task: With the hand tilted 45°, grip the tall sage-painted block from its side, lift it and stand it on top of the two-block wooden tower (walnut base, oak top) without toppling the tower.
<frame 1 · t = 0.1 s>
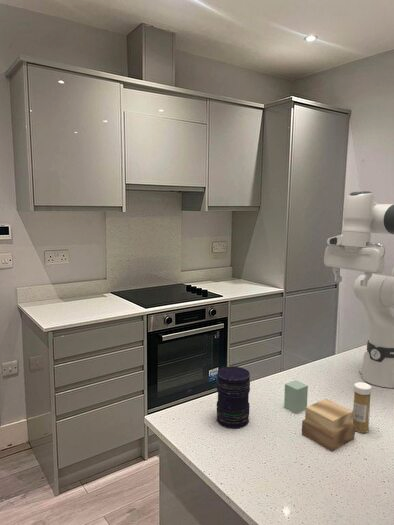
hand: (350, 283, 132), 39 cm above the counter, tool pointing down, fingers open, 8 cm apart
storage jar: (232, 420, 122), on the counter
walnut block: (327, 437, 113), on the counter
oak block: (328, 422, 113), point 4 cm above the counter
sage block: (295, 408, 129), on the counter
sprinkles bottle: (360, 429, 117), on the counter
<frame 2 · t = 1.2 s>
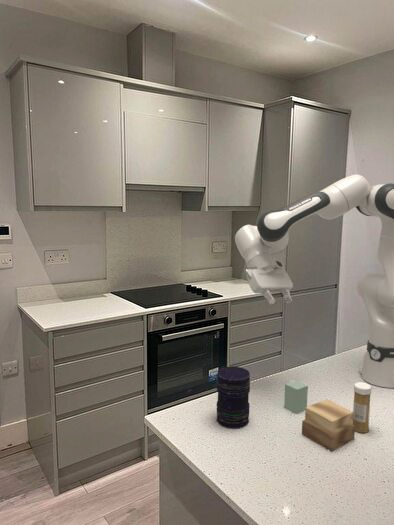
hand: (281, 302, 132), 33 cm above the counter, tool tilted 40°, fingers open, 8 cm apart
walnut block: (327, 438, 113), on the counter, touching oak block
oak block: (328, 423, 113), point 4 cm above the counter, touching walnut block
everything else where it was.
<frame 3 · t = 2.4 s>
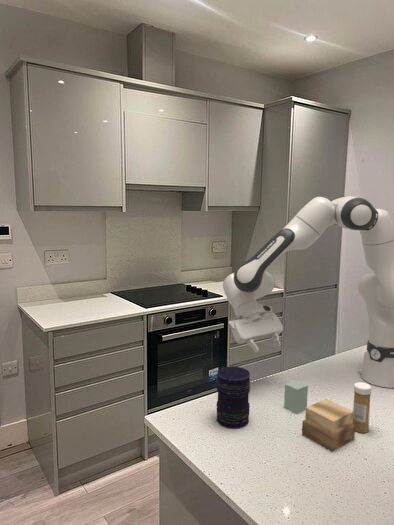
hand: (268, 349, 137), 16 cm above the counter, tool tilted 45°, fingers open, 8 cm apart
nothing on the counter moved.
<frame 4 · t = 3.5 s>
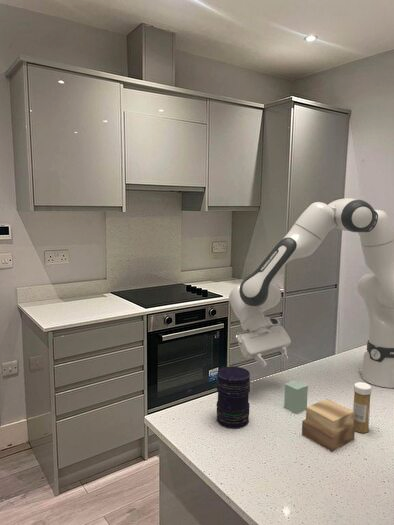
hand: (276, 363, 135), 12 cm above the counter, tool tilted 45°, fingers open, 8 cm apart
nothing on the counter moved.
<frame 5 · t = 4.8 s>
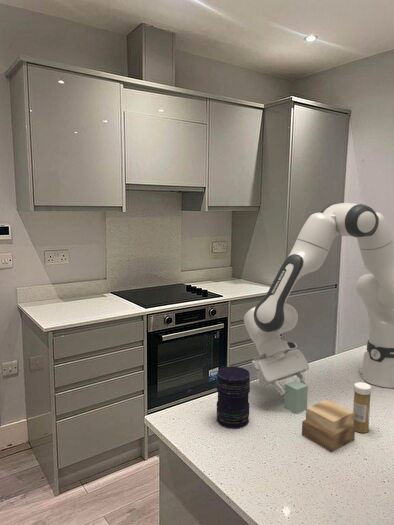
hand: (294, 390, 129), 6 cm above the counter, tool tilted 45°, fingers open, 8 cm apart
nothing on the counter moved.
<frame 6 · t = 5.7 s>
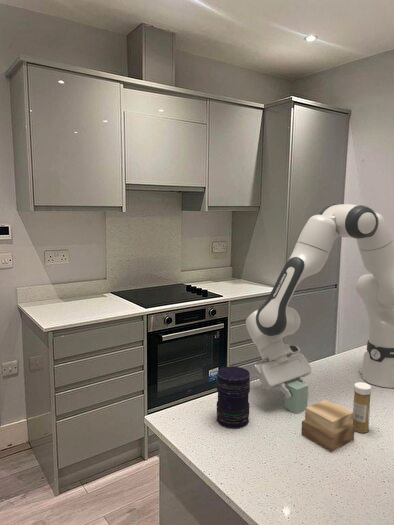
hand: (297, 394, 128), 5 cm above the counter, tool tilted 45°, fingers closed on sage block, 5 cm apart
sage block: (295, 408, 129), on the counter, touching gripper
everything else where it was.
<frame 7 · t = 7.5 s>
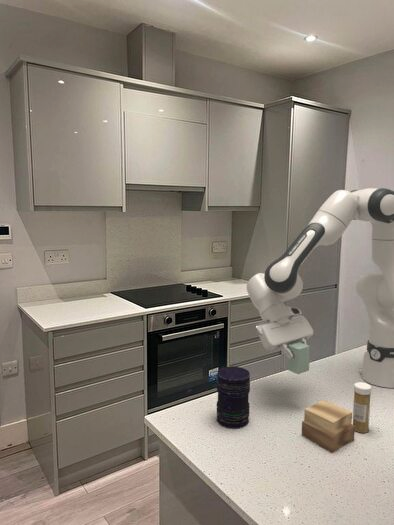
hand: (299, 355, 126), 18 cm above the counter, tool tilted 45°, fingers closed on sage block, 5 cm apart
sage block: (297, 369, 127), point 13 cm above the counter, touching gripper
everything else where it was.
when the fingers open (14 cm above the counter, at t = 11.2 s): sage block drops 1 cm, resting on oak block.
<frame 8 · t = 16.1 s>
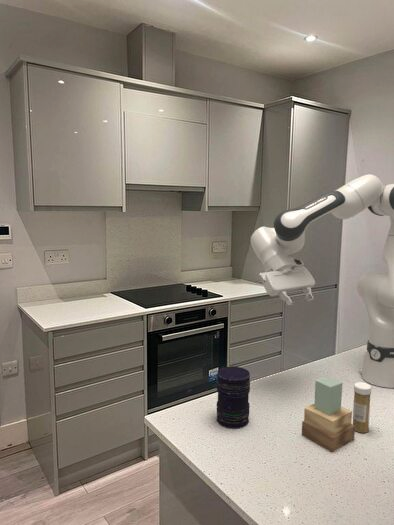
hand: (301, 302, 130), 33 cm above the counter, tool tilted 45°, fingers open, 8 cm apart
oak block: (327, 423, 113), point 4 cm above the counter, touching sage block, walnut block
sage block: (327, 409, 112), point 8 cm above the counter, touching oak block
everything else where it was.
at the end: sage block inside the target area on the oak block (0.1 cm from its centre), point 4.0 cm above the oak block's base; sage block tilted 0°; oak block moved 0.4 cm from its start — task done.
